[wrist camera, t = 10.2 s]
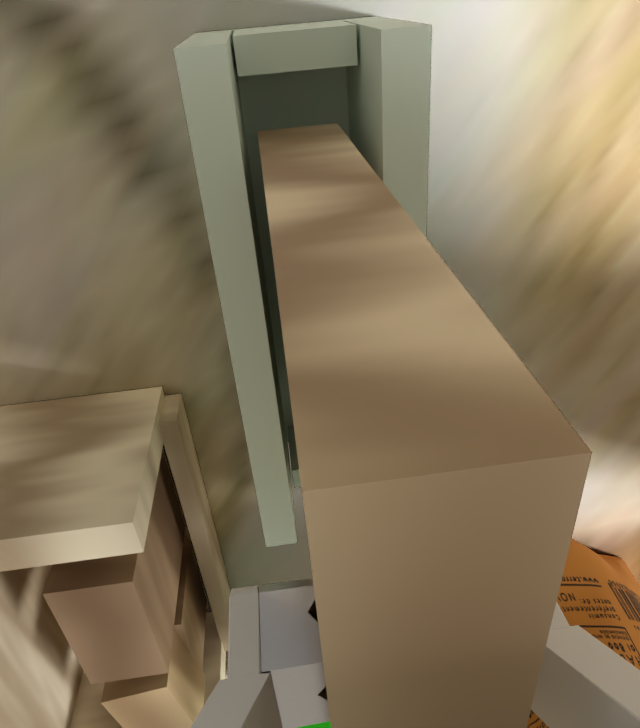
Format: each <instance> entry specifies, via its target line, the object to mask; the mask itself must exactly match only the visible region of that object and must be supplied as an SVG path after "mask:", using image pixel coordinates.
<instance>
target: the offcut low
mask: <svg viewBox="0 0 640 728" xmlns="http://www.w3.org/2000/svg"><path fill="white" fill-rule="evenodd" d="M206 608H207V598H206V595H205V591H204V588H203V585H202V581H201V578H200V574H199V571H198V567H197V564H196V560H195V557H194V554H193V550H192V547H191V543H190V541H186V542H184V543H183V552H182V561H181V569H180V578H179V587H178V595H177V604H176V613H175V622H174V629H175V630H176V632H177V633H178V635H179V636H180V638H181V640H182V641H183V643H184V644H185V646H186V647H187V649H188V650H189V652H190V653H191V655H192V656H193V658H194V659H195V661H196V662H197V664H198V665H199V667H200V668H201V670H202V669H203V654H204V639H205V623H206Z"/></svg>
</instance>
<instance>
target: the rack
mask: <svg viewBox="0 0 640 728" xmlns="http://www.w3.org/2000/svg"><path fill="white" fill-rule="evenodd" d="M163 444H164V447H165V450H166V454H167V457H168V460H169V464H170V467H171V471H172V474H173V478H174V481H175V485H176V488H177V492H178V495H179V499H180V502H181V506H182V509H183V512H184V516H185V519H186V523H187V526H188V530H189V533H190V537H191V540H192V544H193V547H194V551H195V554H196V558H197V561H198V565H199V568H200V571H201V575H202V578H203V582H204V585H205V589H206V592H207V596H208V599H209V603H210V606H211V610H212V612H208V613H206V623H205V639H204V654H203V669H202V671H203V673H204V674H205V691H204V704H205V703H206V701H207V699H208V698H209V696H210V695H211V693H212V691H213V690H214V688H215V686H216V685H217V683H218V681H219V680H223V679H225V666H226V651H228V634H229V597H230V592H231V590H230V586H229V582H228V578H227V574H226V570H225V566H224V562H223V558H222V554H221V550H220V546H219V542H218V538H217V534H216V530H215V526H214V522H213V518H212V515H211V511H210V507H209V503H208V499H207V495H206V491H205V487H204V483H203V479H202V475H201V471H200V467H199V463H198V459H197V455H196V451H195V447H194V443H193V439H192V435H191V431H190V427H189V423H188V419H187V415H186V411H185V407H184V403H183V399H182V395H181V394H173V395H164V392H163V388H162V387H154V388H145V389H137V390H129V391H121V392H113V393H104V394H96V395H88V396H80V397H71V398H63V399H55V400H47V401H39V402H30V403H22V404H14V405H6V406H0V728H123V727H122V726H121V725H120V724H119V723H118V722H117V721H116V720H115V718H114V717H113V716H112V715H111V714H110V713H109V712H108V711H107V709H106V708H105V707H104V706H103V705H102V704H101V699H102V694H103V689H104V684H105V682H104V683H97V684H91V683H90V682H89V680H88V678H87V676H86V674H85V672H84V670H83V669H82V667H81V665H80V663H79V661H78V659H77V657H76V656H75V654H74V652H73V650H72V648H71V646H70V645H69V643H68V641H67V639H66V637H65V635H64V633H63V632H62V630H61V628H60V626H59V624H58V622H57V620H56V619H55V617H54V615H53V613H52V611H51V609H50V607H49V606H48V604H47V602H46V600H45V598H44V596H43V591H44V588H45V585H46V582H47V579H48V576H49V573H50V570H51V567H52V565H53V564H61V563H68V562H76V561H83V560H90V559H98V558H105V557H112V556H120V555H127V554H134V553H142V552H144V547H145V541H146V536H147V531H148V525H149V520H150V514H151V509H152V503H153V498H154V493H155V487H156V482H157V476H158V471H159V465H160V460H161V455H162V449H163Z"/></svg>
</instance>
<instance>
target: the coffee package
mask: <svg viewBox="0 0 640 728" xmlns="http://www.w3.org/2000/svg"><path fill="white" fill-rule="evenodd" d="M557 603H558V605H559V607H560V609H561V611H562V612H563V614H564V616H565V618H566V620H567V622H568V624H569V626H576V625H578V626H580V627H581V628H582V629H584V630H585V631H587V632H588V633H589V634H591V635H592V636H593V637H595V638H596V639H598V640H599V641H600V642H602V643H603V644H604V645H606V646H607V647H608V648H610V649H611V650H613V651H614V652H615V653H617V654H618V655H619V656H621V657H622V658H624V659H625V660H626V661H628V662H629V663H630V664H632V665H633V666H635V667H636V668H637V669H639V670H640V585H639V584H638V582H637V581H636V579H635V578H634V576H633V575H632V573H631V572H630V570H629V568H628V567H627V565H626V563H625V562H624V561H623V560H622V559H621V558H619V557H615V556H609V555H600V554H596V553H595V552H594V551H592V550H591V549H589V548H587V547H586V546H584V545H582V544H581V543H579V542H577V541H575V540H574V539H572V538H571V543H570V547H569V551H568V555H567V559H566V564H565V568H564V572H563V576H562V581H561V585H560V589H559V593H558V597H557ZM527 728H549V727H548V726H547V725H546V724H545V723H544V722H543V721H542V720H541V719H540V718H539V717H538V716H537V715H536V714H535V713H534V712H533V711H532V710H531V711H530V715H529V719H528V723H527Z"/></svg>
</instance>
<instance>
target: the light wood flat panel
mask: <svg viewBox="0 0 640 728" xmlns="http://www.w3.org/2000/svg"><path fill="white" fill-rule="evenodd" d="M257 133H258V141H259V149H260V157H261V165H262V173H263V181H264V189H265V197H266V205H267V214H268V222H269V230H270V238H271V246H272V254H273V262H274V270H275V278H276V286H277V295H278V303H279V311H280V319H281V327H282V335H283V343H284V351H285V359H286V367H287V375H288V384H289V392H290V400H291V408H292V416H293V424H294V432H295V440H296V448H297V456H298V465H299V473H300V481H301V489H302V497H303V505H304V513H305V521H306V529H307V537H308V545H309V554H310V562H311V570H312V578H313V586H314V594H315V602H316V610H317V618H318V626H319V634H320V642H321V650H322V659H323V667H324V675H325V683H326V691H327V699H328V707H329V715H330V723H331V728H527V723H528V719H529V715H530V711H531V707H532V702H533V698H534V694H535V690H536V686H537V681H538V677H539V673H540V669H541V665H542V660H543V656H544V652H545V648H546V644H547V639H548V635H549V631H550V627H551V623H552V618H553V614H554V610H555V606H556V602H557V597H558V593H559V589H560V585H561V581H562V576H563V572H564V568H565V564H566V559H567V555H568V551H569V547H570V543H571V538H572V534H573V530H574V526H575V522H576V517H577V513H578V509H579V505H580V501H581V496H582V492H583V488H584V484H585V480H586V475H587V471H588V467H589V463H590V459H591V454H592V452H591V450H590V449H589V448H588V446H587V445H586V444H585V443H584V441H583V440H582V439H581V437H580V436H579V435H578V433H577V432H576V431H575V430H574V428H573V427H572V426H571V424H570V423H569V422H568V421H567V419H566V418H565V417H564V415H563V414H562V413H561V412H560V410H559V409H558V408H557V406H556V405H555V404H554V402H553V401H552V400H551V399H550V397H549V396H548V395H547V393H546V392H545V391H544V390H543V388H542V387H541V386H540V384H539V383H538V382H537V381H536V379H535V378H534V377H533V375H532V374H531V373H530V371H529V370H528V369H527V368H526V366H525V365H524V364H523V362H522V361H521V360H520V359H519V357H518V356H517V355H516V353H515V352H514V351H513V350H512V348H511V347H510V346H509V344H508V343H507V342H506V340H505V339H504V338H503V337H502V335H501V334H500V333H499V331H498V330H497V329H496V328H495V326H494V325H493V324H492V322H491V321H490V320H489V319H488V317H487V316H486V315H485V313H484V312H483V311H482V310H481V308H480V307H479V306H478V304H477V303H476V302H475V300H474V299H473V298H472V297H471V295H470V294H469V293H468V291H467V290H466V289H465V288H464V286H463V285H462V284H461V282H460V281H459V280H458V279H457V277H456V276H455V275H454V273H453V272H452V271H451V269H450V268H449V267H448V266H447V264H446V263H445V262H444V260H443V259H442V258H441V257H440V255H439V254H438V253H437V251H436V250H435V249H434V248H433V246H432V245H431V244H430V242H429V241H428V240H427V238H426V237H425V236H424V235H423V233H422V232H421V231H420V229H419V228H418V227H417V226H416V224H415V223H414V222H413V220H412V219H411V218H410V217H409V215H408V214H407V213H406V211H405V210H404V209H403V207H402V206H401V205H400V204H399V202H398V201H397V200H396V198H395V197H394V196H393V195H392V193H391V192H390V191H389V189H388V188H387V187H386V186H385V184H384V183H383V182H382V180H381V179H380V178H379V176H378V175H377V174H376V173H375V171H374V170H373V169H372V167H371V166H370V165H369V164H368V162H367V161H366V160H365V158H364V157H363V156H362V155H361V153H360V152H359V151H358V149H357V148H356V147H355V145H354V144H353V143H352V142H351V140H350V139H349V138H348V136H347V135H346V134H345V133H344V131H343V130H342V129H341V127H340V126H339V125H338V124H337V123H334V124H324V125H313V126H303V127H293V128H283V129H273V130H263V131H257Z"/></svg>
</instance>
